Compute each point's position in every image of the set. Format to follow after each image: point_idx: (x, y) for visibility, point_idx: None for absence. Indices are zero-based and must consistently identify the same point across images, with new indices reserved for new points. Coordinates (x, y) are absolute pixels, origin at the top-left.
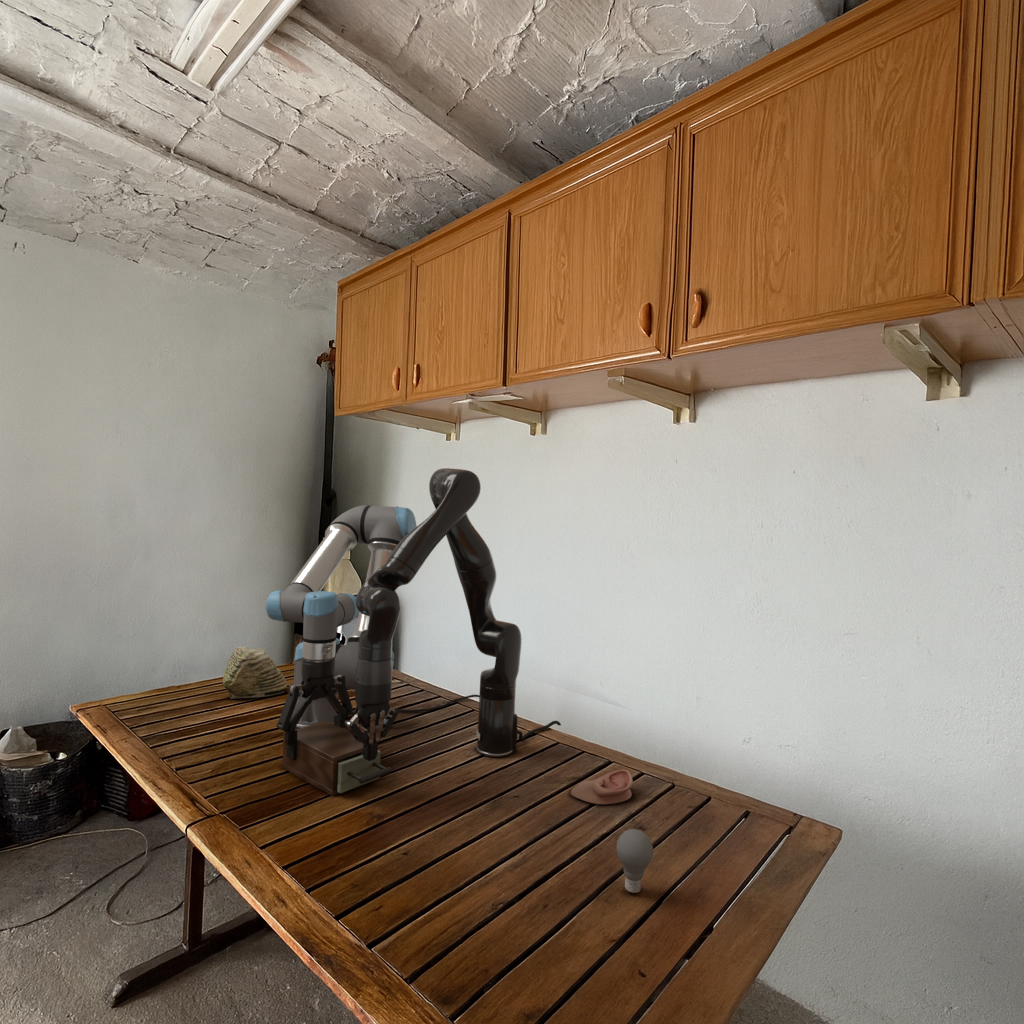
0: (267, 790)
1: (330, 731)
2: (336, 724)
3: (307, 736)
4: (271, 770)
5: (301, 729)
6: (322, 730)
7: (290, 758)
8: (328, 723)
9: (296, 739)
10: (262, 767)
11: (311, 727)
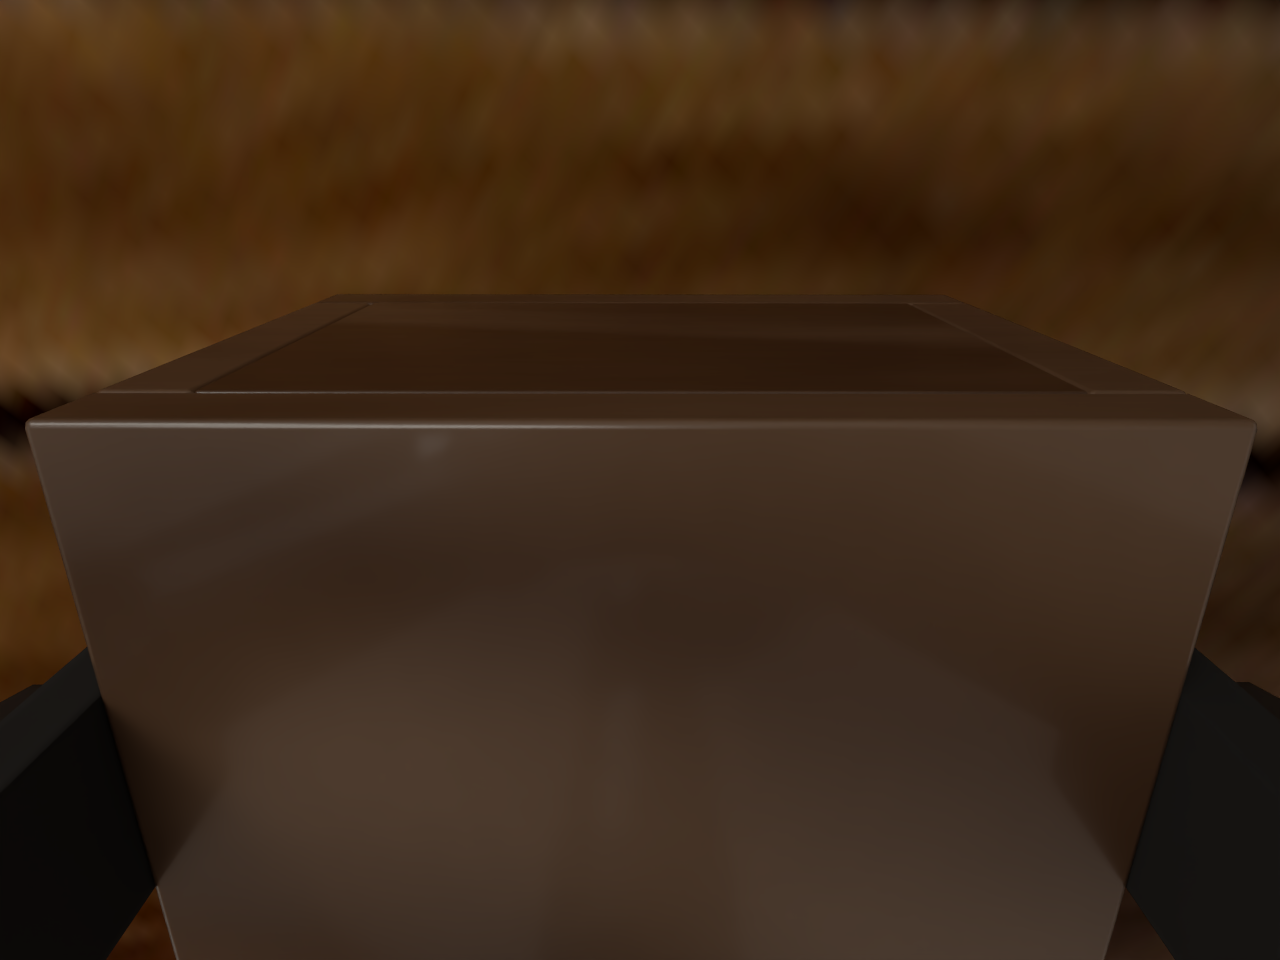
0: (21, 657)
1: (833, 949)
2: (1166, 797)
3: (372, 896)
4: (203, 272)
5: (459, 532)
6: (762, 835)
7: None
8: (1132, 617)
9: (135, 895)
10: (135, 102)
11: (700, 578)
